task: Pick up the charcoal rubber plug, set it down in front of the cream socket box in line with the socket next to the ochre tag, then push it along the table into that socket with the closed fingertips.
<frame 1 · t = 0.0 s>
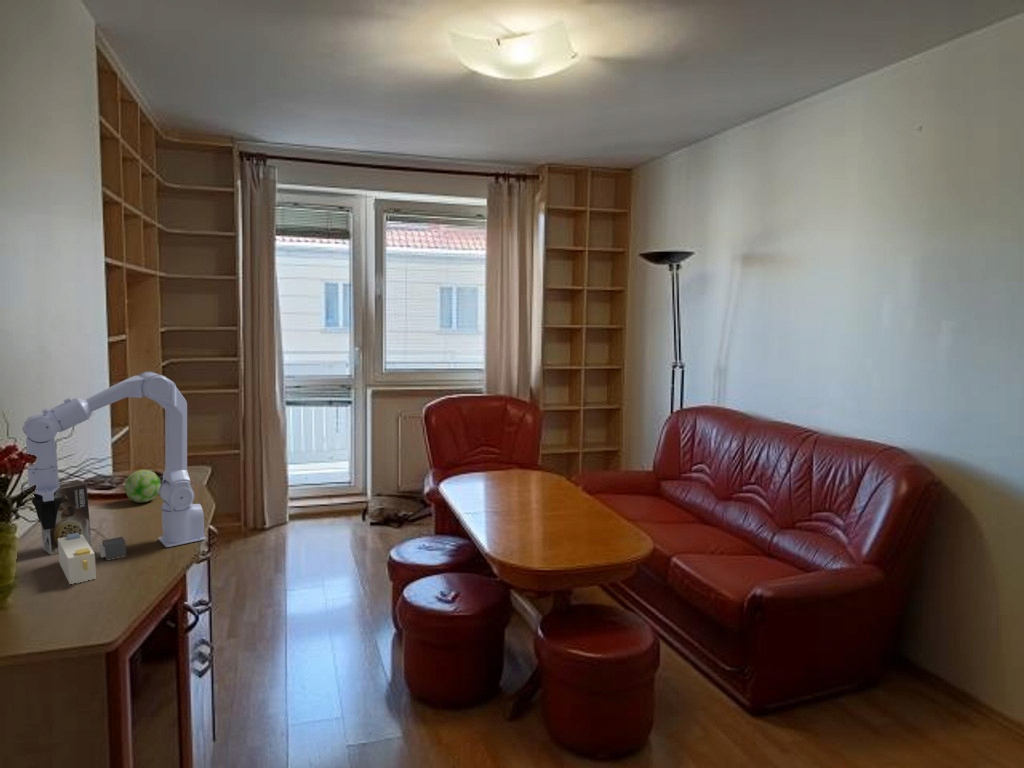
hand: (46, 524, 160), 10 cm above the table, tool pointing down, fingers open, 7 cm apart
socket box: (89, 568, 160), on the table
plug: (114, 556, 168), on the table
decorative ball: (143, 502, 212), on the table
coffee box: (67, 548, 173), on the table
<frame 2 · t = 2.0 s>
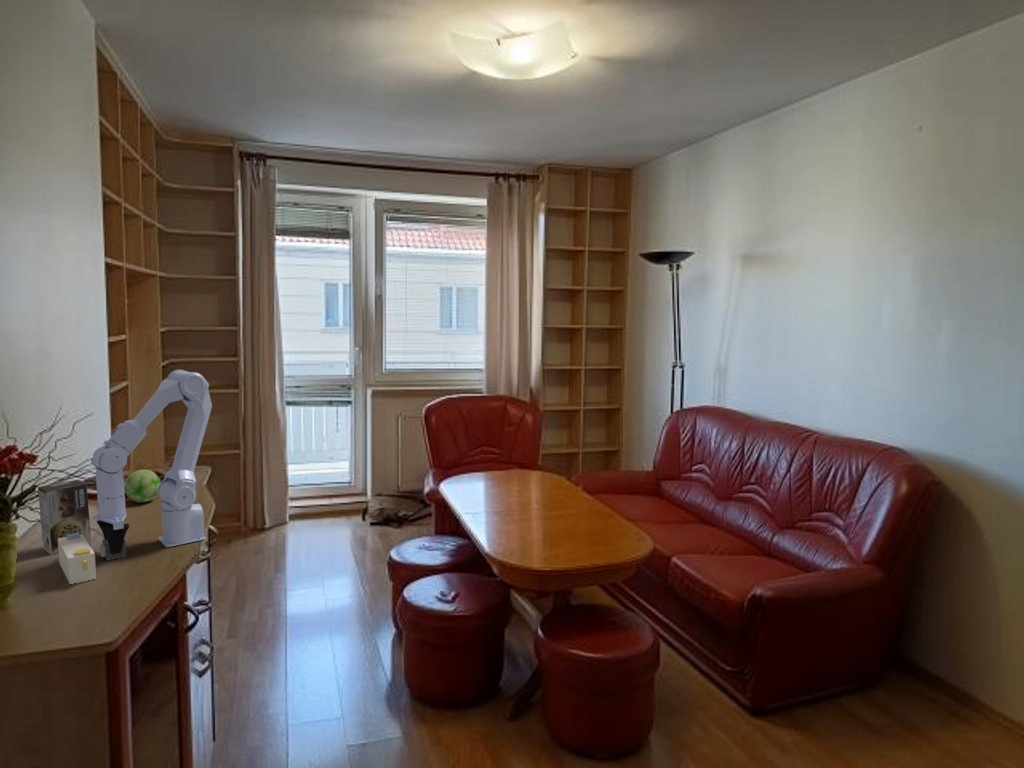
hand: (114, 550, 168), 1 cm above the table, tool pointing down, fingers closed on plug, 4 cm apart
plug: (114, 556, 168), on the table, touching gripper
everything else where it was.
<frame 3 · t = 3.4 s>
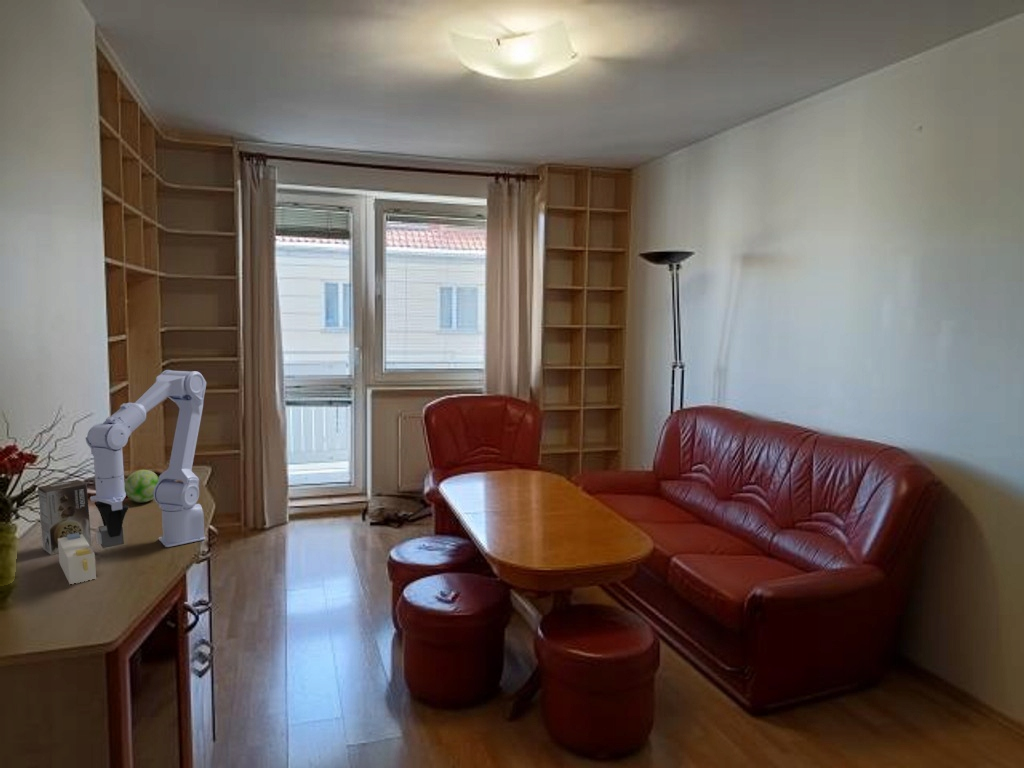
hand: (112, 533, 159), 8 cm above the table, tool pointing down, fingers closed on plug, 4 cm apart
plug: (111, 543, 159), point 6 cm above the table, touching gripper
everything else where it was.
when the fingers open (2 cm above the table, at t = 5.1 s): plug stays where it is, on the table.
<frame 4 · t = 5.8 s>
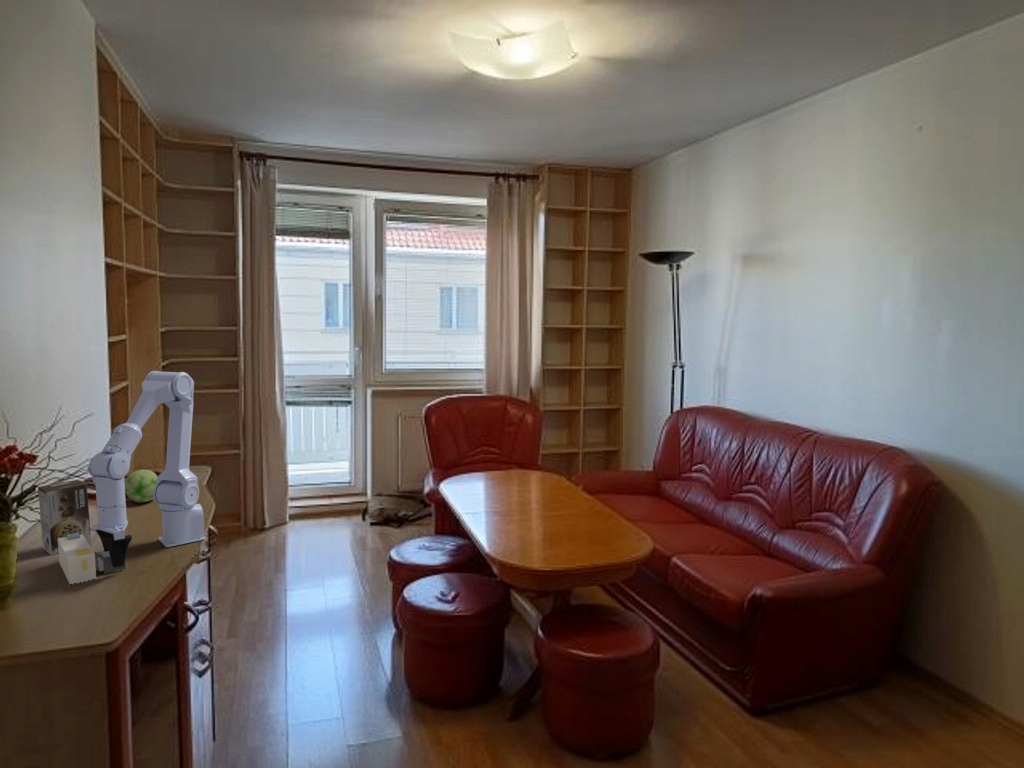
hand: (115, 561, 160), 2 cm above the table, tool pointing down, fingers open, 7 cm apart
plug: (113, 569, 160), on the table
everything else where it was.
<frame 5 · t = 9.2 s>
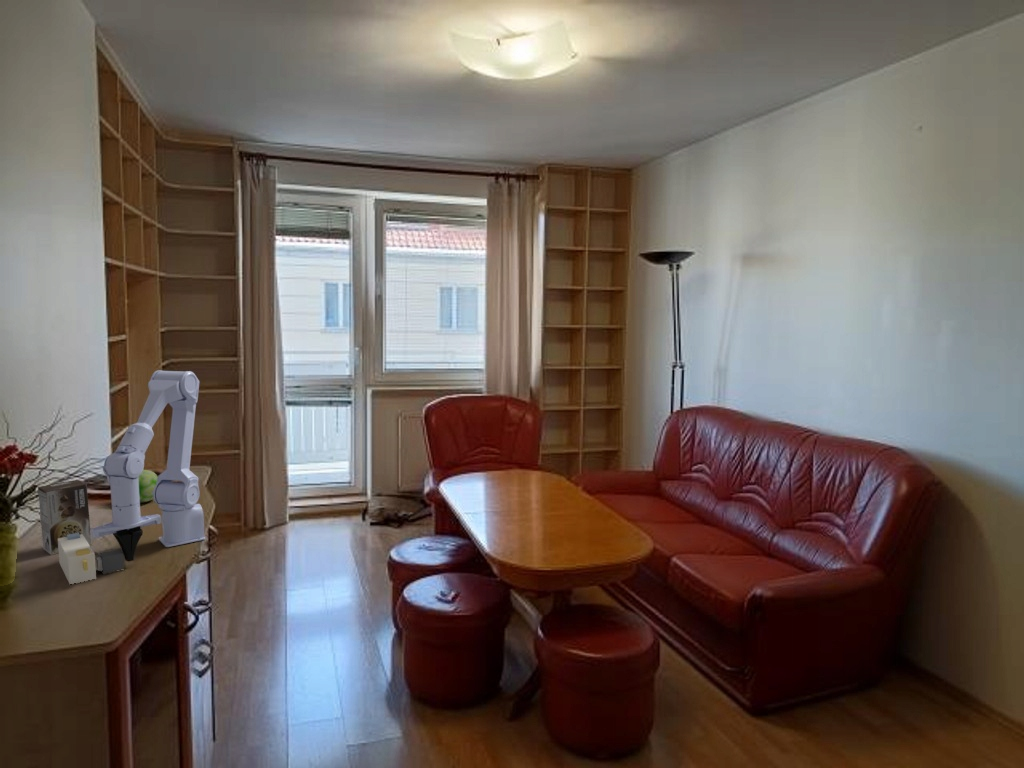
hand: (129, 559, 162), 1 cm above the table, tool pointing down, fingers closed
plug: (112, 569, 160), on the table, touching gripper
everything else where it was.
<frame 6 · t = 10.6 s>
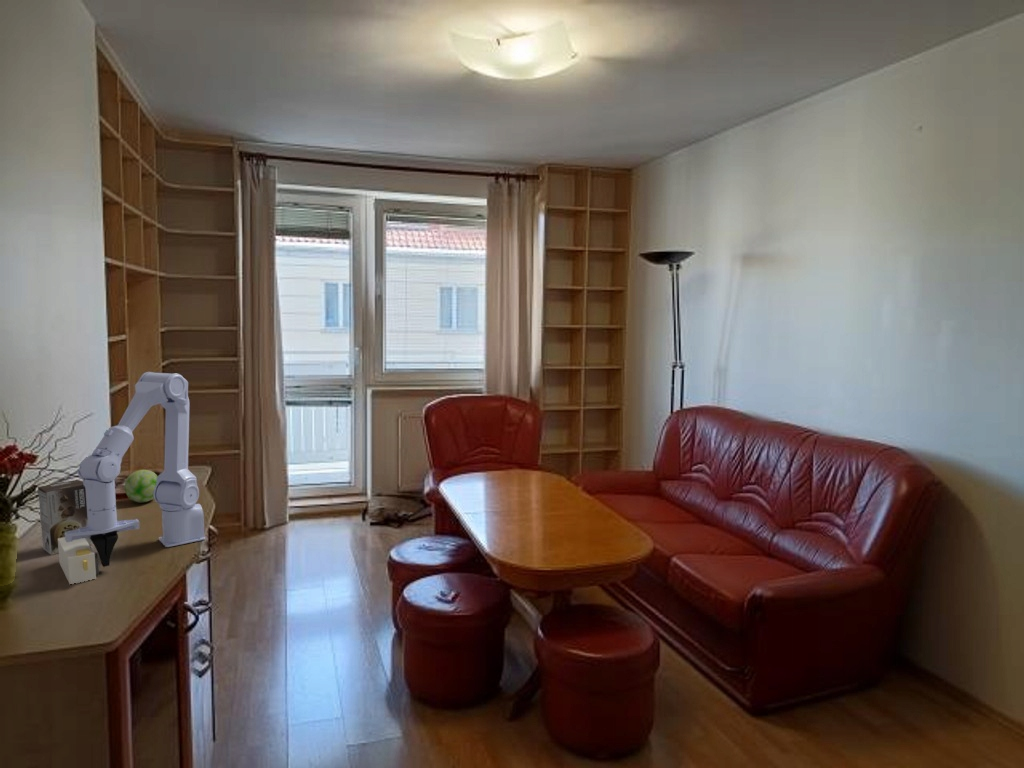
hand: (105, 565, 159), 1 cm above the table, tool pointing down, fingers closed
plug: (87, 574, 157), on the table, touching gripper
everything else where it was.
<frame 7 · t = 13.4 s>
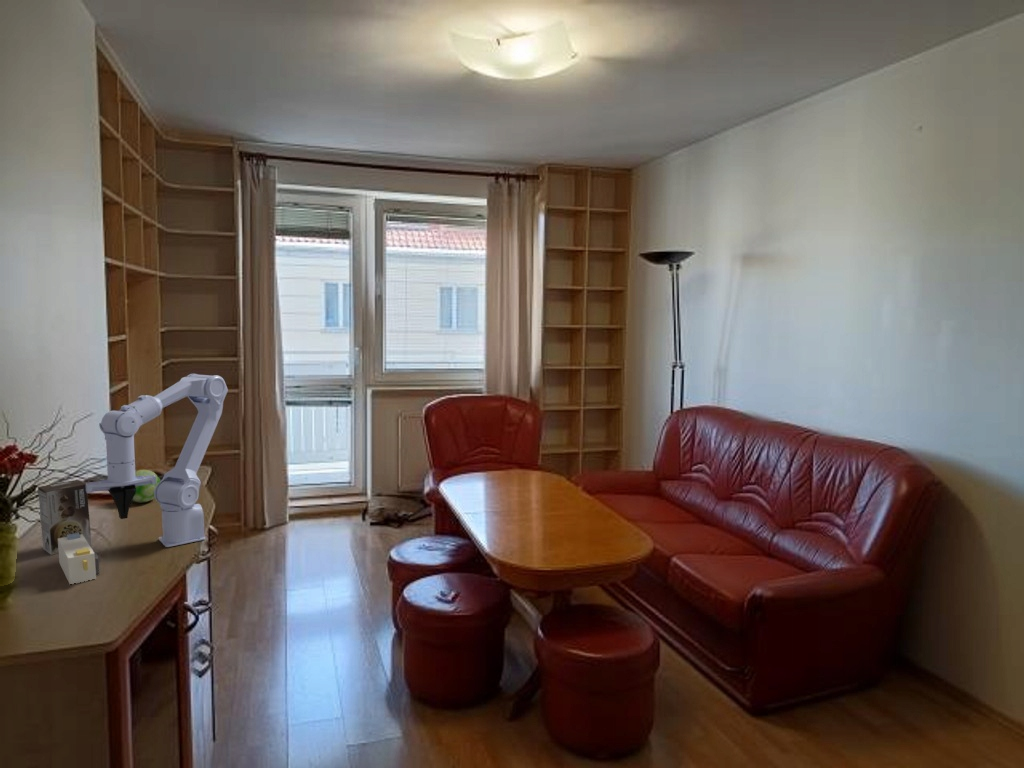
hand: (123, 517, 164), 10 cm above the table, tool pointing down, fingers closed
plug: (87, 574, 157), on the table
everything else where it was.
at the end: plug 0.6 cm from the target spot, on the table; plug tilted 0°; the gripper is holding nothing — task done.
